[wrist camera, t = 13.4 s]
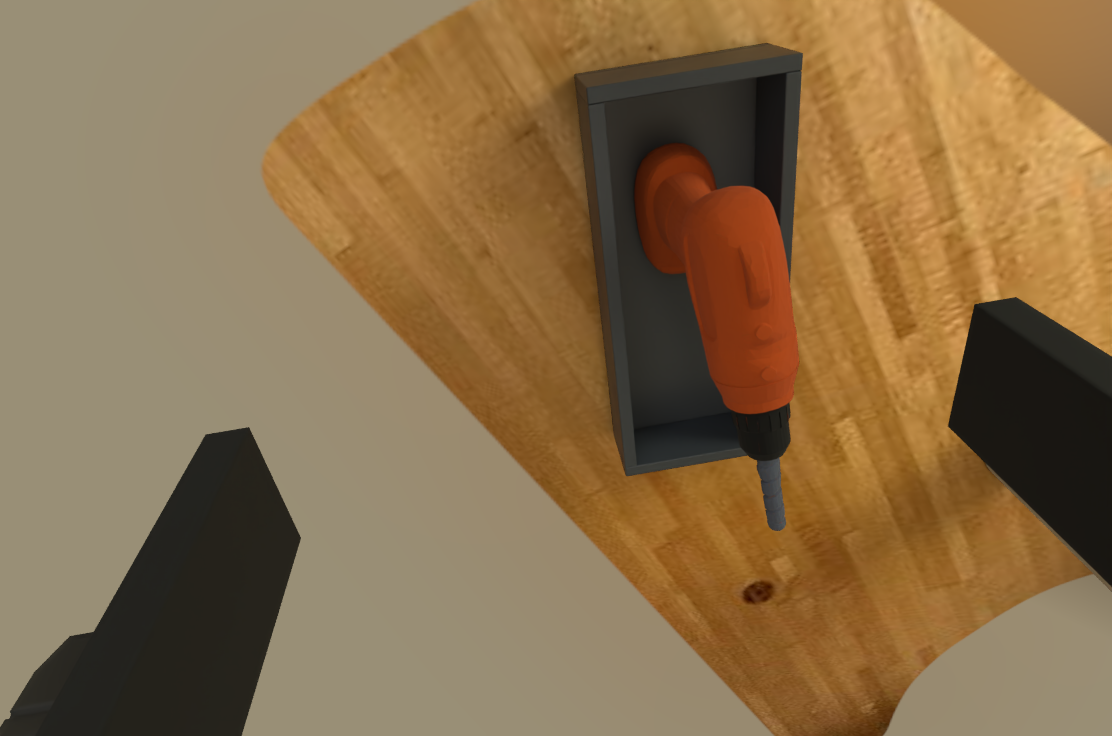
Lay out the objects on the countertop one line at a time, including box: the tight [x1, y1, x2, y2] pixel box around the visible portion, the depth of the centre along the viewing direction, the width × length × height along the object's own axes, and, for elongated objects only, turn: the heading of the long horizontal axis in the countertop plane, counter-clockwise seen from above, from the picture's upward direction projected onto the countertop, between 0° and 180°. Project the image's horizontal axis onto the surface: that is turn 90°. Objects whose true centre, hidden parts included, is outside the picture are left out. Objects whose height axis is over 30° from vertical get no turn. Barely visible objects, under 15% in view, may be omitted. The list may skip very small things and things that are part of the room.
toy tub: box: [574, 43, 803, 476], centre depth 41 cm, size 25×11×5 cm, turn 8°
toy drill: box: [634, 143, 799, 531], centre depth 36 cm, size 5×19×15 cm, turn 14°
